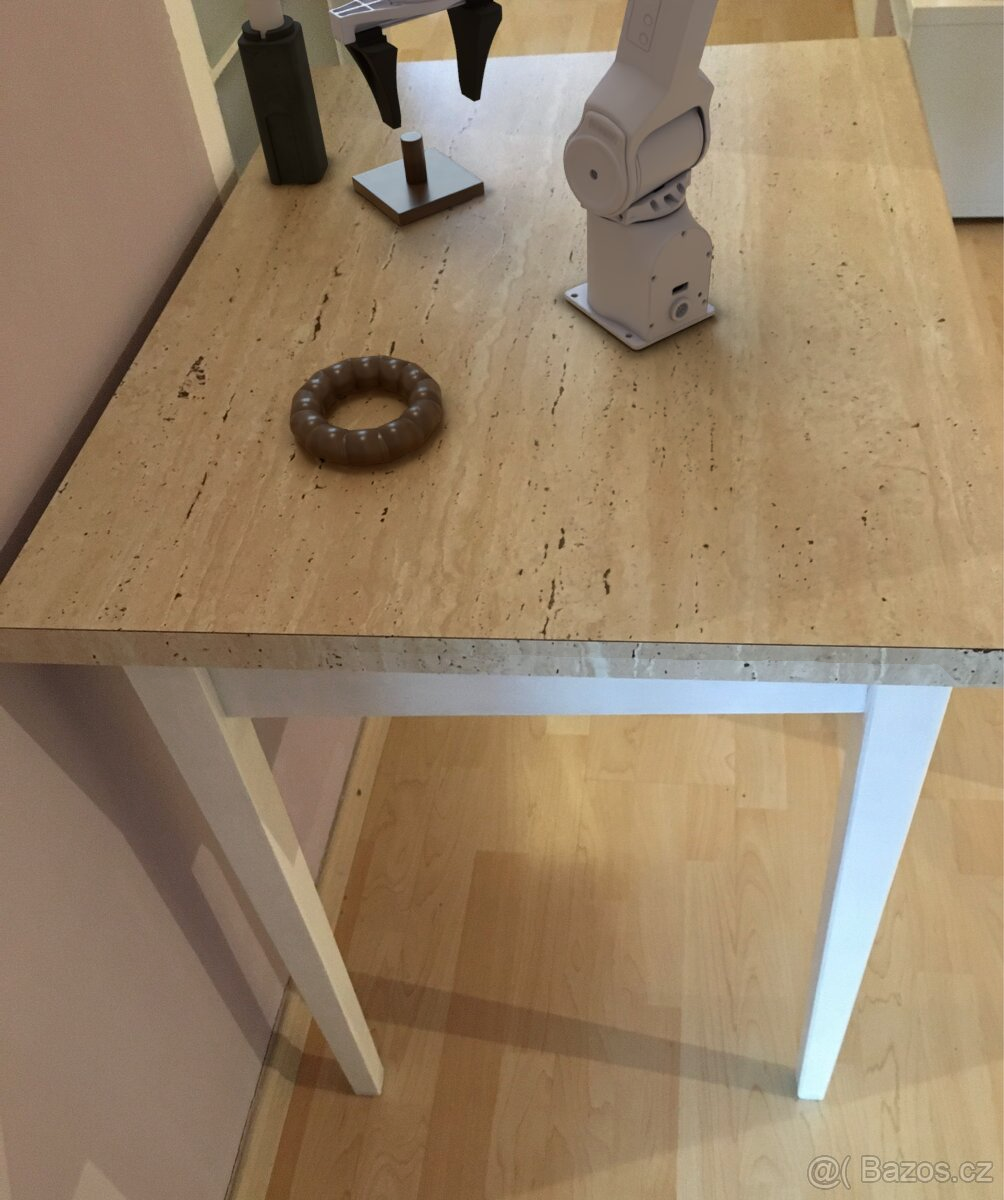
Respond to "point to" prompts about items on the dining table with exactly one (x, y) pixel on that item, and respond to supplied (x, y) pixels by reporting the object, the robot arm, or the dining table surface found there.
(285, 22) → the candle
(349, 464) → the segmented ring
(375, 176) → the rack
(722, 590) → the dining table surface
